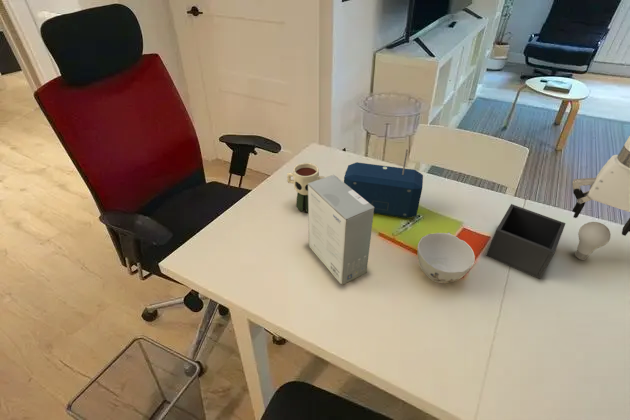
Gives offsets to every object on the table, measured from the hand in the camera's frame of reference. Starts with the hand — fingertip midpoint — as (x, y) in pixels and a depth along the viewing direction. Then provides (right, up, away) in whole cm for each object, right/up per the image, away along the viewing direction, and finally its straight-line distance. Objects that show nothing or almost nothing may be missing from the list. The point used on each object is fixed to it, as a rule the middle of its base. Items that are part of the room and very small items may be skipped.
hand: (599, 223), depth 86 cm
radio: (-46, +4, +24) cm, 52 cm away
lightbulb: (+1, -9, +7) cm, 12 cm away
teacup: (-35, -12, +4) cm, 37 cm away
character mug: (-68, +4, +24) cm, 72 cm away
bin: (-14, -8, +9) cm, 18 cm away
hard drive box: (-60, -9, +7) cm, 61 cm away
